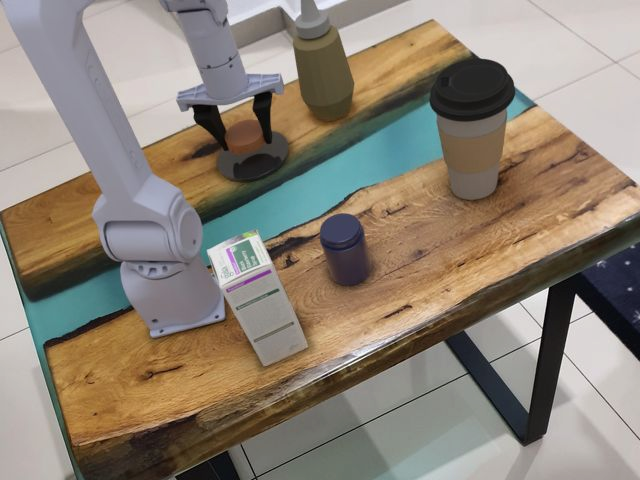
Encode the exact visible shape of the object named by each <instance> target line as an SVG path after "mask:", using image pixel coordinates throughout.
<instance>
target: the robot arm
mask: <svg viewBox="0 0 640 480" xmlns="http://www.w3.org/2000/svg"><path fill="white" fill-rule="evenodd" d="M158 1H159V4H160V5H161V7H162V9H163V11H165V12H166V13H176V14H175V16H176V18H177V20H178V24H179V25H180V29H181V30H182V34H183V36H184V38H185V41H186V43H187V46H188V48H189V51H190V53H191V55H192V58H193V61H194V63H195V65H196V68H197V70H198V74H199V76H200V78H201V80H202V83H201V84H199V85H196V86H195V85H194V86H192V87H190V88H188V89H184V90H179V91H177V95H176V99H175V101H176V103H177V106H178V109H179V110H180V112H181V113H185V112H188V111H189V110H190V109H192V112H193V117H192V118H193V121H194V122H195V124H196V125H198V126H199V127H201V128H202V129H204V130H206V131H207V132H208V133H209V134H210V136H212V137H213V138H214V139H215V141H216V142H217V143H218V144H219V146H220V147H221V148H222V149H223V150H224V151H229V149H228V147H227V144H226V141H225V133H226V131H227V129H226V126H225V124H224V122H223V119H222V115H221V112H220V109H219V106H228V105H232V104H236V103H238V102H241V101H242V100H243V101H244V100H245V99H248V98H253V102H252V108H251V109H252V112H253V114H254V115H255V118H256V120H258V121H259V123H260V126H261V128H262V132H263V135H264V139H265V141H266V144H271V143H272V136H273V135H272V131H273V130H272V122H271V120H272V119H271V118H272V117H271V111H272V102H273V95H274V94H275V95H276V96H279V95H280V96H281V95H284V92H285V82H284V80H283V76H282V73H281V72H277V73H246V70H245V66H244V64H243V60H242V59H241V58H242V57H241V55H240V51H239V49H238V46H237V43H236V40H235V36H234V34H233V31H232V28H231V25H230V21H229V20H228V14H229V9H228V7H229V5H228V2H227V0H158ZM94 2H96V0H0V4H1V6H2V7H3V10H4V12H5V15H6V18H7V21H8V23H9V25H10V27H11V30H12V32H13V33H14V36H15V37H16V39H17V41H18V42H19V45H20V47H21V48H22V50H23V51H24V53H25V55H26V57H27V59H28V61H29V63H30V64H31V66H32V68H33V70H34V71H35V73H36V75H37V77H38V79H39V81H40V82H41V85H42V86H43V88H44V89H45V91H46V93H47V95H48V97H49V99H50V101H51V102H52V104H53V107H54V108H55V109H56V111H57V113H58V115H59V116H60V118H61V120H62V122H63V124H64V126H65V127H66V129H67V131H68V133H69V135H70V136H71V139H72V140H73V142H74V143H75V145H76V147H77V149H78V152H80V154H81V156H82V158H83V160H84V162H85V164H86V165H87V167H88V169H89V171H90V173H91V174H92V176H93V178H94V179H95V182H96V184H97V186H98V187H99V189H100V191H101V194H100V195H99V196H98V198H97V200H96V201H95V203H94V205H93V209H92V212H91V218H92V219H93V221H94V223H95V225H96V227H97V230H98V234H99V240H100V243H101V245H102V248H103V250H104V252H105V254H106V255H107V256H108V257H109V259H111V260H113V261H115V262H121V264H120V269H119V271H120V273H119V274H120V281H121V284H122V288H123V291H124V293H125V295H126V298H127V300H128V301H129V304H131V306H132V307H133V309H134V310H135V312H136V313H137V315H138V316H139V317H140V319H141V320H142V321H143V322H144V324H145V326H146V327H147V329H148V330H149V336H150V337H151V338H152V339H157V338H161V337H165V336H168V335H172V334H176V333H179V332H184V331H187V330H192V329H196V328H199V327H203V326H206V325H210V324H215V323H218V322H222V321H224V320H225V319H226V302H225V296H224V294H223V292H222V291H221V289H220V287H219V284H218V282H217V279H216V277H215V275H214V272H211V271H210V269H209V268H208V266H207V264H206V261H204V258H203V257H202V255H201V253H200V251H201V250H202V245H203V241H204V231H203V229H204V228H203V223H202V221H201V218H200V215H199V214H198V212H197V211H196V209H195V208H194V207H193V206H192V205H191V204H190V203H189V202H188V201H187V199H186V197H185V195H184V193H183V191H182V189H180V188H179V187H178V186H176V185H174V184H172V183H170V182H169V181H167V180H165V179H163V178H161V177H159V176H158V175H156V174H155V173H154V172H153V170H152V168H151V166H150V163H149V162H148V160H147V157H146V155H145V153H144V151H143V149H142V146H141V145H140V142H139V141H138V138H137V136H136V134H135V132H134V129H133V127H132V125H131V123H130V122H129V119H128V117H127V115H126V113H125V111H124V108H123V106H122V104H121V102H120V100H119V98H118V95H117V93H116V91H115V89H114V88H113V87H114V86H113V85H112V83H111V81H110V78H109V76H108V74H107V71H106V70H105V68H104V66H103V64H102V61H101V59H100V57H99V55H98V53H97V51H96V49H95V47H94V45H93V42H92V40H91V38H90V36H89V34H88V32H87V30H86V27H85V25H84V23H83V18H84V12H85V10H86V9H87V8H88V7H90V6H91V5H92V4H93V3H94Z"/></svg>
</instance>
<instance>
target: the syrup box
mask: <svg viewBox="0 0 640 480" xmlns="http://www.w3.org/2000/svg"><path fill="white" fill-rule="evenodd" d="M206 253H207V256H208V259H209V262H210V265H211V268H212V273H214V275H215V276H214V277H216V279H217V282H218V284H219V287H220V289H221V291H222V292H223V294H224V299H225V300H226V302H227V304H228V305H229V307H230V309H231V311H232V313H233V315H234V316H235V318H236V320H237V321H238V324H239V326H240V328H241V329H242V331H243V333H244V334H245V336H246V338H247V339H248V342H249V343H250V345H251V347H252V348H253V350H254V353H255V355H256V356H257V358H258V359H259V362H260V363H261V365H262V366H263V367H268V366H270V365H273V364H275V363H277V362H280V361H282V360H284V359H286V358H289V357H291V356H293V355H295V354H297V353H299V352H302V351H303V350H306V349H308V348H309V344H308V340H307V339H306V336H305V334H304V332H303V329H302V326H301V324H300V322H299V319H298V317H297V314H296V312H295V309H294V307H293V305H292V303H291V300H290V298H289V295H288V293H287V290H286V289H285V286H284V283H283V281H282V279H281V277H280V275H279V273H278V271H277V269H276V267H275V265H274V262H273V261H272V259H271V258H272V257H271V255H270V254H269V252H268V250H267V248H266V246H265V244H264V241H263V239H262V237H261V235H260V233H259V230H258V229H256V228H255V229H252V230H248V231H246V232H243V233H240V234H238V235H235V236H233V237H231V238H228V239H226V240H224V241H222V242H220V243H218V244H216V245H214V246H213V247H211V248H208V249H206Z"/></svg>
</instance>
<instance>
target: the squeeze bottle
mask: <svg viewBox="0 0 640 480" xmlns="http://www.w3.org/2000/svg"><path fill="white" fill-rule="evenodd" d="M294 26H295V31H296V34H295V36H294V37H293V40H292V46H293V54H294V60H295V66H296V73H297V78H298V79H297V80H298V85H299V86H298V87H299V92H300V96H301V99H302V101H303V103H304V104H305V105H306V107H307V108H308V110H309V111H310V112H311V114H312V115H313V117H314V118H315V119H317V120H318V121H321V122H335V121H337V120H340V119H342V118H344V117H345V116H347V115H348V113H349V112H351V109H352V104H353V96H354V89H355V80H354V76H353V74H352V70H351V66H350V65H349V61H348V58H347V54H346V51H345V49H344V45H343V42H342V39H341V36H340V32H339V30H338V28H337V27H336V26H334V25H333V24H331V22H330V17H329V14H328V12H327V11H326V10H324V9H319V8H318V6H317V4H316V1H315V0H300V14H299V15H298V16H297V17H296V18H295V21H294Z"/></svg>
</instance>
